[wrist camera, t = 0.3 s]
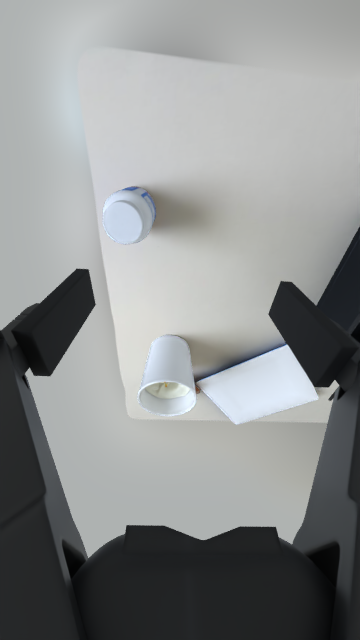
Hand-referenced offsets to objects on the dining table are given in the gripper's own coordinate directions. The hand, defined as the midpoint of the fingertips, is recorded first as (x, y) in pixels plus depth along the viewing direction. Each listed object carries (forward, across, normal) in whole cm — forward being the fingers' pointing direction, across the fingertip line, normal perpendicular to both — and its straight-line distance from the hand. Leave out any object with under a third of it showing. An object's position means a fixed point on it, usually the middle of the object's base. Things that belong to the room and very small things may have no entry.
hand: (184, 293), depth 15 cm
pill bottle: (+19, -6, +2) cm, 21 cm away
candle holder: (+19, -1, -24) cm, 31 cm away
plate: (+19, +21, -34) cm, 45 cm away
